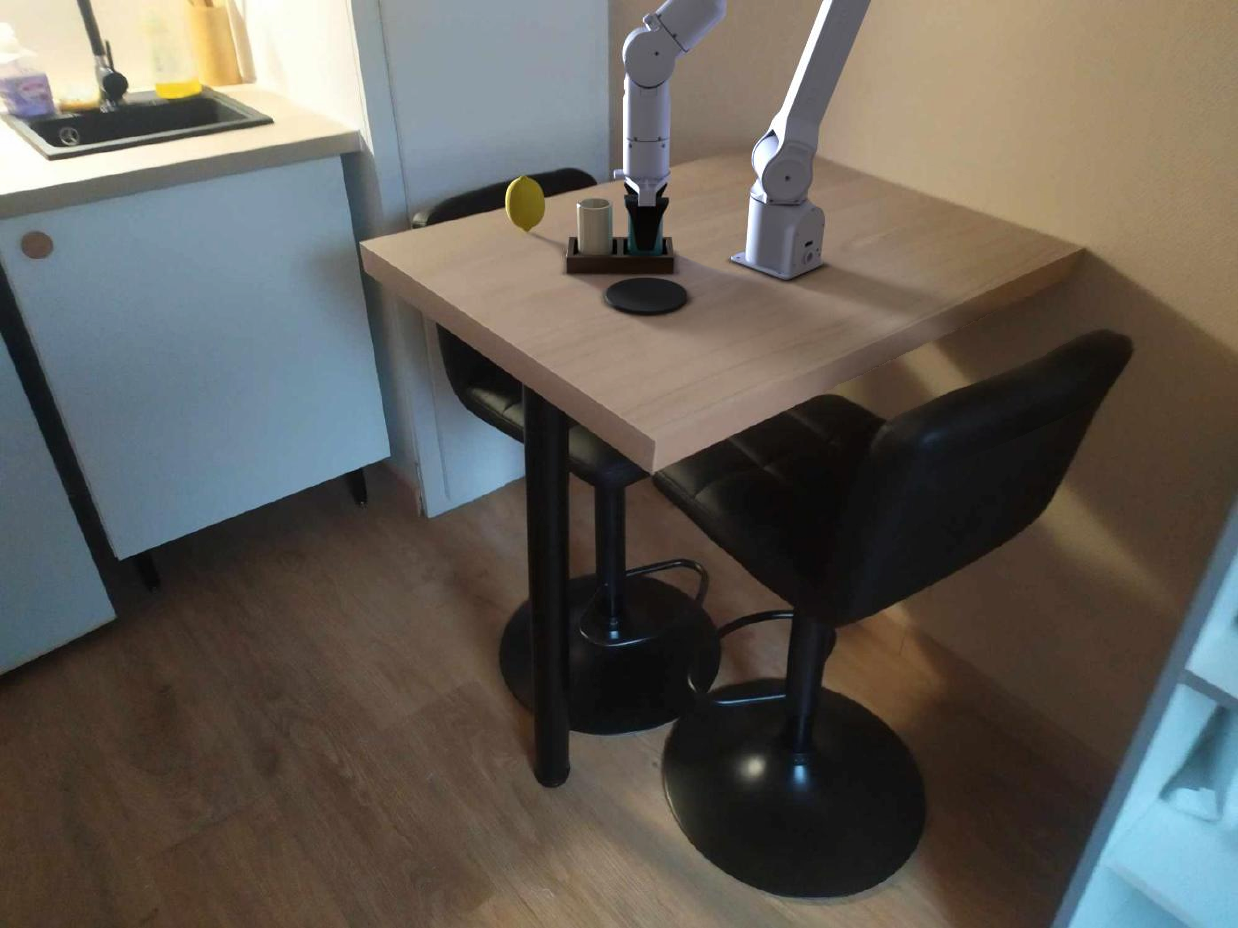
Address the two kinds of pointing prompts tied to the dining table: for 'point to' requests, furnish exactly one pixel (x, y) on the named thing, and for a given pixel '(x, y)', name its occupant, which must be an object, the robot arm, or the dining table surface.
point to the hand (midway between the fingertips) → (645, 242)
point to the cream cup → (595, 226)
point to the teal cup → (632, 244)
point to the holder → (620, 259)
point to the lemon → (525, 203)
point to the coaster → (646, 296)
